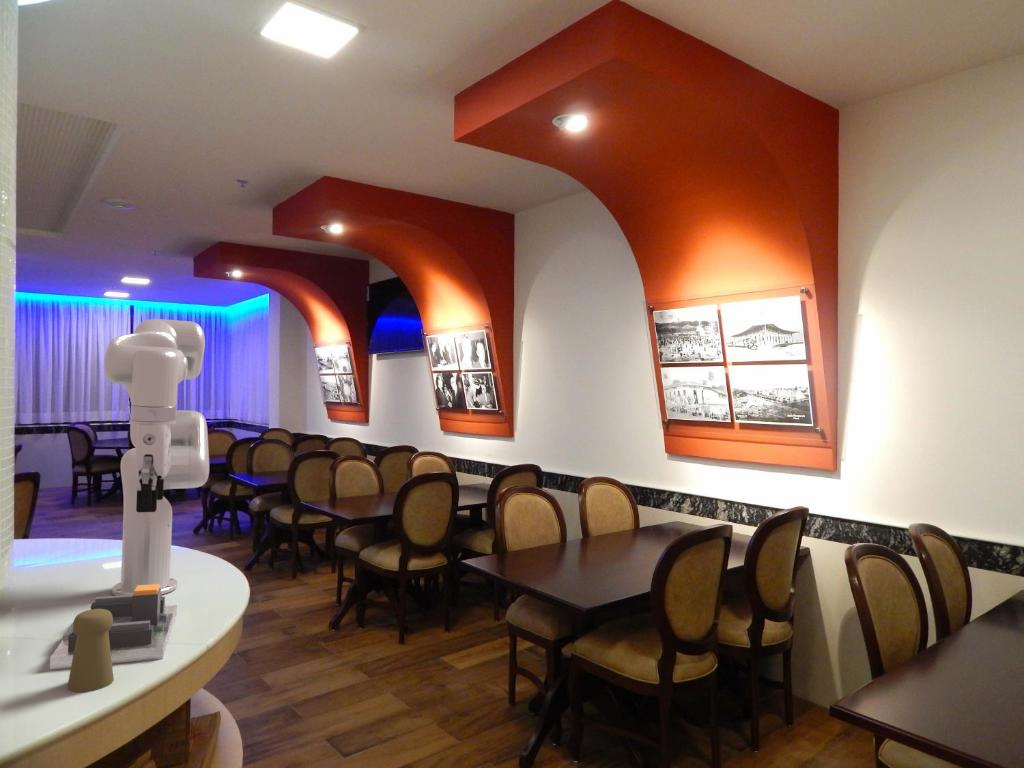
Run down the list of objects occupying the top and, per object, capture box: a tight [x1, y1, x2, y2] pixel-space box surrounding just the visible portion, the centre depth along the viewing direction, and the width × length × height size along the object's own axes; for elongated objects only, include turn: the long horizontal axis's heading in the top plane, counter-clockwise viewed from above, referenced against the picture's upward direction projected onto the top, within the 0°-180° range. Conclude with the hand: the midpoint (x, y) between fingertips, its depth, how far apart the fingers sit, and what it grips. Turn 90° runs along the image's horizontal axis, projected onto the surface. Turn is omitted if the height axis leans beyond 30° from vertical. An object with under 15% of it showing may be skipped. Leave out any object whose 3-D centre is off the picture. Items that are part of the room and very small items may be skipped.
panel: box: [49, 604, 178, 671], centre depth 119 cm, size 22×16×3 cm
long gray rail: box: [68, 593, 166, 652], centre depth 119 cm, size 18×12×3 cm, turn 21°
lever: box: [132, 584, 161, 626], centre depth 121 cm, size 4×4×7 cm
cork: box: [67, 609, 115, 693], centre depth 102 cm, size 6×6×11 cm
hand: (150, 505), depth 126 cm, fingers open, 9 cm apart
